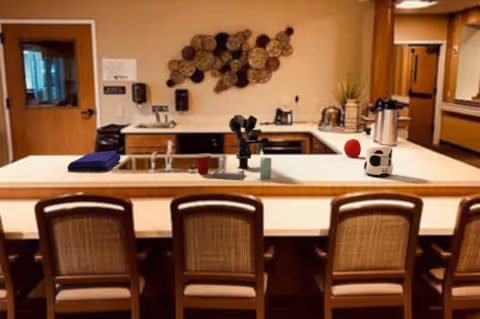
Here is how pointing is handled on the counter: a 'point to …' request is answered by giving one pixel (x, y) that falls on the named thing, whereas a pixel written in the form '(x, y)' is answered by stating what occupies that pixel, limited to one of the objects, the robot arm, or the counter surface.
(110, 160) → the towel
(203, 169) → the plastic cup
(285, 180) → the counter surface
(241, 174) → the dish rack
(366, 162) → the milk container
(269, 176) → the pale green upright block
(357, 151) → the tomato
